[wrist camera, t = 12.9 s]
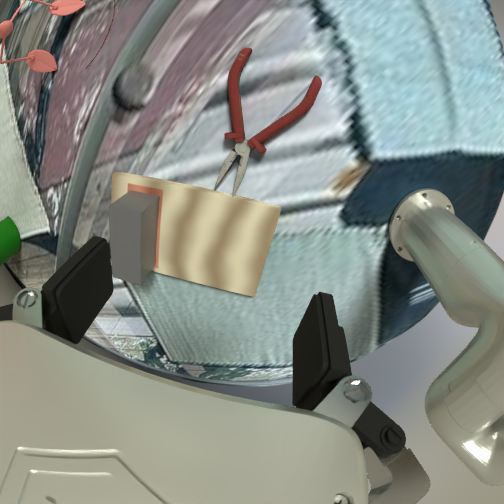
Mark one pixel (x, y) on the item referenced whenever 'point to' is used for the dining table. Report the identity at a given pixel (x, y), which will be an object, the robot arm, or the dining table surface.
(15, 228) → the green cylindrical container
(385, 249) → the dining table surface
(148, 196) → the block
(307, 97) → the pliers
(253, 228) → the board
